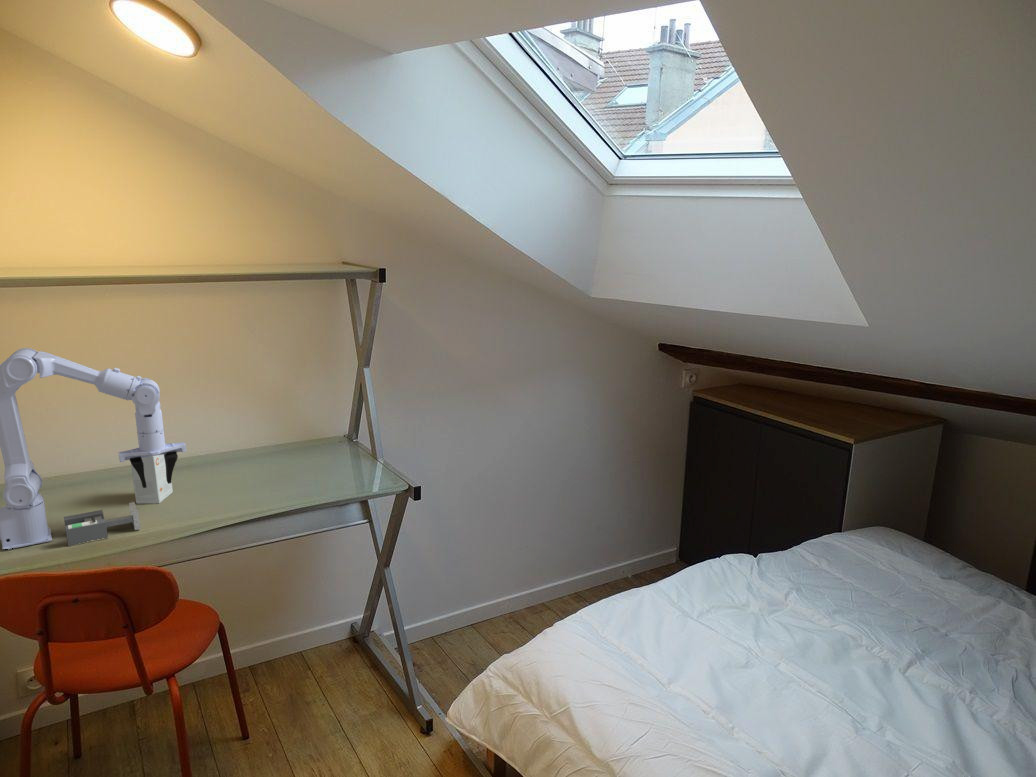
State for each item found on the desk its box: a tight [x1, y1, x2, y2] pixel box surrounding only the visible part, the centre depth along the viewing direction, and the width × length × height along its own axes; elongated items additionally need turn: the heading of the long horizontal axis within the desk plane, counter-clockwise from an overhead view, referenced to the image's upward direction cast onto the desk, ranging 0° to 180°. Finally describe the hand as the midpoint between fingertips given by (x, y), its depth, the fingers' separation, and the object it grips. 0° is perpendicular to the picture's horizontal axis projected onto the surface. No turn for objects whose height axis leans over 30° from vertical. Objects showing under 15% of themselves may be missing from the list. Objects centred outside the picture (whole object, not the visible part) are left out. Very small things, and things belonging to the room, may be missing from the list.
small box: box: [130, 454, 174, 505], centre depth 203 cm, size 8×6×13 cm
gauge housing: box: [63, 509, 109, 547], centre depth 180 cm, size 8×9×4 cm
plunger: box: [84, 501, 141, 531], centre depth 183 cm, size 11×8×4 cm
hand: (156, 484), depth 187 cm, fingers open, 5 cm apart
